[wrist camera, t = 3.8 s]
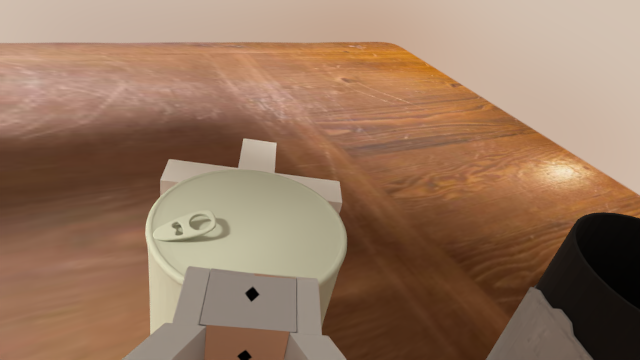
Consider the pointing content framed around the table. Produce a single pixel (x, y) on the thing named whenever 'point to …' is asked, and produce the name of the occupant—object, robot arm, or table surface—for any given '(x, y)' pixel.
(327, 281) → the can
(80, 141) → the table surface
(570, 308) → the glass holder
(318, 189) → the T stop
